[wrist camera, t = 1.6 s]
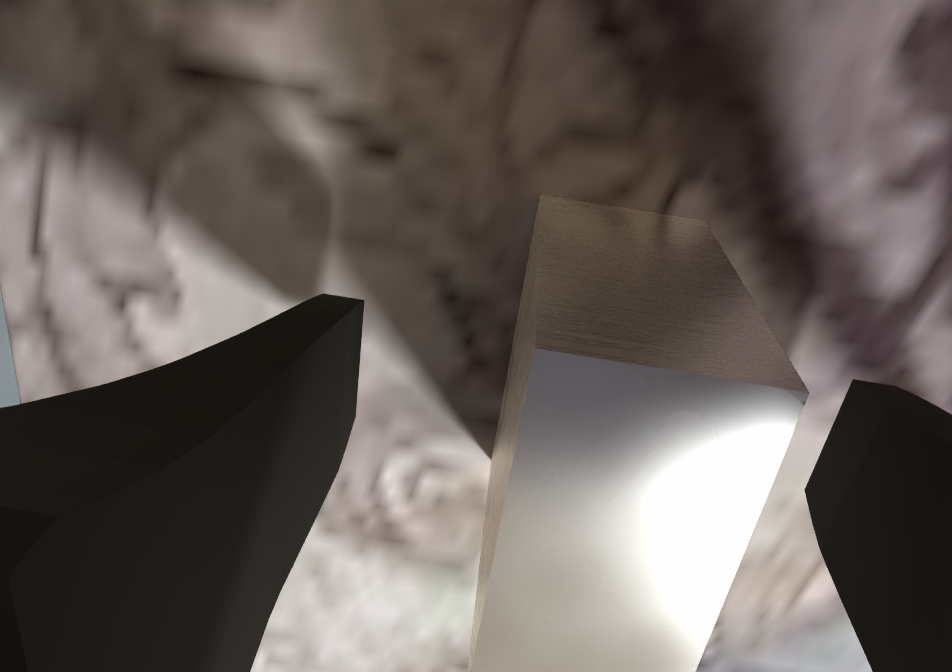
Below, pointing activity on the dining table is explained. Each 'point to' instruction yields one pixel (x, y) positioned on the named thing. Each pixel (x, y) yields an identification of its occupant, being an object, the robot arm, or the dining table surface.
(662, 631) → the white block
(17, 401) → the grey tissue box
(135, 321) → the dining table surface
